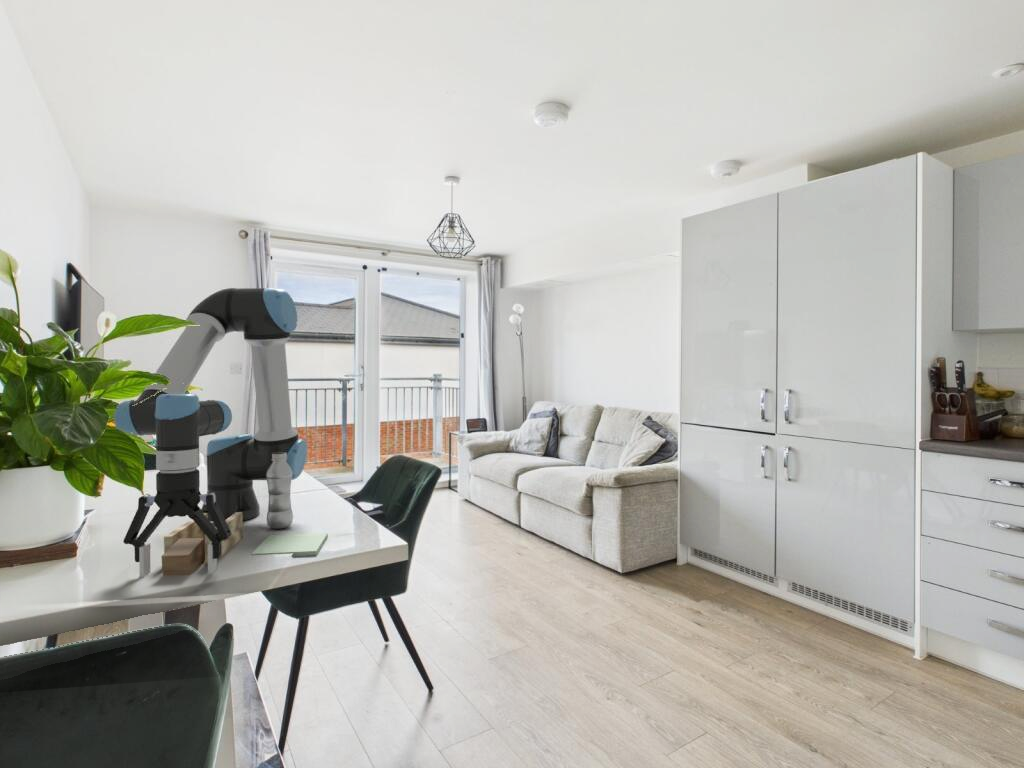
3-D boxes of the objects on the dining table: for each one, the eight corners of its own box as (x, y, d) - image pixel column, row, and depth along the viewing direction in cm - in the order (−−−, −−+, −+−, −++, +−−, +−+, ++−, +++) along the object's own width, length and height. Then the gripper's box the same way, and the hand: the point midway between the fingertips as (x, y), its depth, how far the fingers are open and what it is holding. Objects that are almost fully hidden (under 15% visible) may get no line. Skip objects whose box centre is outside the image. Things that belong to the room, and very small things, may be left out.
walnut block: (180, 560, 119) (179, 538, 118) (205, 559, 119) (204, 537, 119) (163, 579, 111) (161, 556, 110) (190, 578, 112) (188, 554, 111)
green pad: (269, 539, 137) (269, 535, 137) (327, 536, 139) (327, 532, 139) (251, 558, 124) (251, 553, 123) (316, 555, 126) (316, 550, 126)
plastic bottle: (298, 525, 149) (298, 452, 149) (280, 532, 143) (280, 455, 142) (279, 523, 152) (278, 450, 151) (260, 530, 145) (260, 454, 145)
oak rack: (201, 542, 135) (200, 513, 135) (242, 540, 136) (242, 512, 136) (164, 569, 116) (164, 536, 116) (212, 567, 118) (212, 534, 117)
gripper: (101, 474, 106) (102, 586, 107) (235, 471, 110) (236, 579, 110) (122, 468, 114) (123, 572, 114) (247, 465, 117) (248, 566, 118)
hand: (179, 575), depth 112 cm, fingers open, 12 cm apart
